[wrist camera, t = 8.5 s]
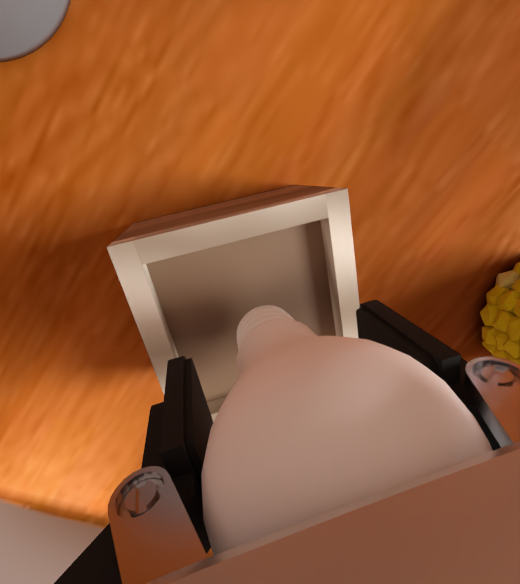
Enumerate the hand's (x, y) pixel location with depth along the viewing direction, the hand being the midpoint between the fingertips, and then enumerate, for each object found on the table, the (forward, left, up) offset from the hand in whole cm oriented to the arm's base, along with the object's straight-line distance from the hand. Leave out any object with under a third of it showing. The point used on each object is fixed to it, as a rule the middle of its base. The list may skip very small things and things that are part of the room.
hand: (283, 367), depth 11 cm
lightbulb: (0, 0, -4) cm, 4 cm away
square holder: (0, 0, -11) cm, 11 cm away
